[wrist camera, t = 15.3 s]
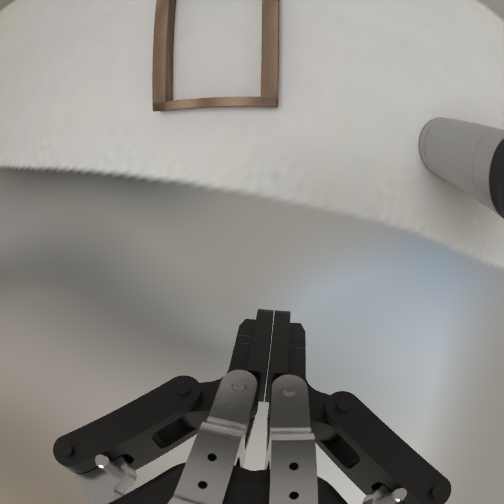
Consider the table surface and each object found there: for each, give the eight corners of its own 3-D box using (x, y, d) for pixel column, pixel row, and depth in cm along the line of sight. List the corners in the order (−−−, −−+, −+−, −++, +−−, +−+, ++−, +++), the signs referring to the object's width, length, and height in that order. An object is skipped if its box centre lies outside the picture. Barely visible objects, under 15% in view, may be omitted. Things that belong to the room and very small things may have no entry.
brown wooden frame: (278, -15, 23) (277, -22, 21) (277, 106, 33) (276, 106, 31) (164, -3, 25) (157, -8, 23) (160, 110, 35) (152, 111, 33)
